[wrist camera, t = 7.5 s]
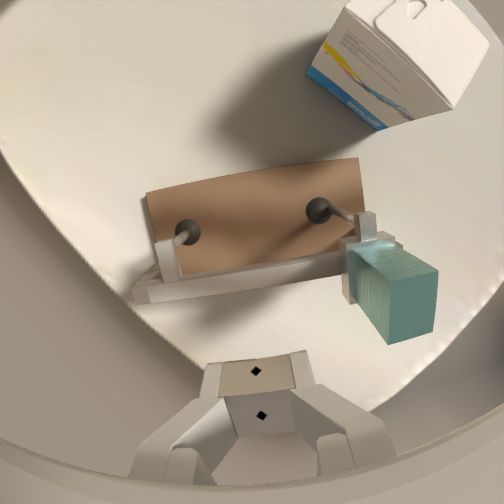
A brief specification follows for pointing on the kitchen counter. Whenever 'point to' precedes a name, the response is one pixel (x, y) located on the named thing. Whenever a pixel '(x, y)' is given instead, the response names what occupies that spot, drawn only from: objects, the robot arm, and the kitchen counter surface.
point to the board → (250, 230)
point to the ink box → (399, 59)
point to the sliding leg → (386, 280)
